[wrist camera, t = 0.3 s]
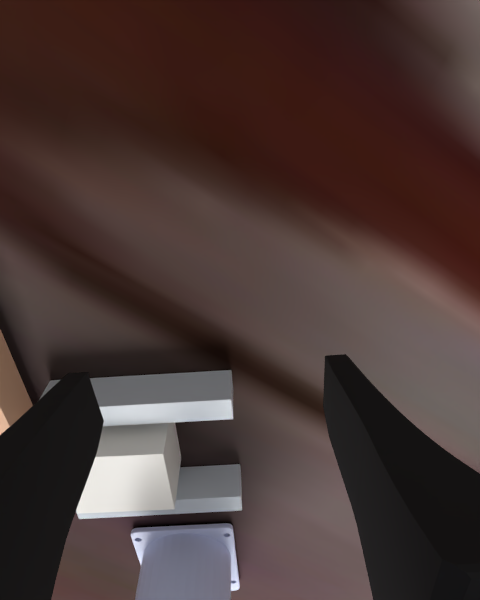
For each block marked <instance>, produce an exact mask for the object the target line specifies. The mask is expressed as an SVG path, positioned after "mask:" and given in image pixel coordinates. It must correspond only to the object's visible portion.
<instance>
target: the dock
mask: <svg viewBox="0 0 480 600" xmlns="http://www.w3.org/2000/svg"><path fill="white" fill-rule="evenodd" d="M59 381H60V380H50V382H49V383H48V385H47V387H46V389H45V390H44V392H43V394H42V396H41V397H40V399H41V398H42V397H43V396H44V395H45V394H46V393H47V392H48V391H49V390H50V389H51V388H52V387H53V386H55V385H56V384H57V383H58V382H59ZM90 381H91V384H92V387H93V390H94V393H95V396H96V399H97V402H98V405H99V408H100V411H101V414H102V417H103V420H104V423H103V426H119V425H137V424H155V423H173V422H191V421H209V420H227V419H233V382H232V371H231V370H222V371H205V372H188V373H170V374H153V375H136V376H119V377H101V378H90ZM40 399H39V400H40ZM223 511H242V483H241V468H240V464H232V465H214V466H195V467H180V471H179V479H178V487H177V495H176V502H175V509H170V510H148V511H125V512H103V513H80V514H77V515H78V517H79V519H88V518H108V517H127V516H146V515H165V514H185V513H204V512H223ZM76 513H77V511H76Z"/></svg>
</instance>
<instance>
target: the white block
mask: <svg viewBox="0 0 480 600" xmlns="http://www.w3.org/2000/svg"><path fill="white" fill-rule="evenodd" d="M180 464H181V453H180V447H179V441H178V436H177V430H176V424H175V422H173V423H155V424H137V425H119V426H103V428H102V433H101V437H100V442H99V446H98V450H97V454H96V457H95V460H94V462H93V465H92V468H91V471H90V474H89V476H88V479H87V482H86V485H85V487H84V490H83V493H82V495H81V498H80V501H79V504H78V506H77V509H76V511H77V514H80V513H103V512H125V511H148V510H170V509H175V502H176V495H177V487H178V479H179V471H180Z"/></svg>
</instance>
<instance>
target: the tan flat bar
mask: <svg viewBox="0 0 480 600" xmlns="http://www.w3.org/2000/svg"><path fill="white" fill-rule="evenodd" d="M32 406H33V405H32V402H31V400H30V398H29V395H28V393H27V391H26V388H25V386H24V384H23V381H22V379H21V376H20V374H19V372H18V369H17V367H16V365H15V362H14V360H13V358H12V355H11V353H10V351H9V348H8V346H7V344H6V341H5V339H4V336H3V334H2V332H1V329H0V435H1V434H2V433H3V432H4V431H5V430H7V429H8V428H9V427H10V426H11V425H12V424H14V423H15V422H16V421H17V420H18V419H19V418H20V417H21V416H22V415H23V414H24V413H26V412H27V411H28V410H29V409H30V408H31V407H32Z"/></svg>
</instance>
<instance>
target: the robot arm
mask: <svg viewBox="0 0 480 600" xmlns="http://www.w3.org/2000/svg"><path fill="white" fill-rule="evenodd" d="M323 407H324V413H325V418H326V423H327V428H328V433H329V437H330V441H331V444H332V447H333V450H334V453H335V456H336V459H337V463H338V466H339V469H340V472H341V475H342V478H343V481H344V484H345V487H346V490H347V493H348V496H349V499H350V502H351V505H352V509H353V512H354V516H355V519H356V523H357V527H358V532H359V536H360V540H361V545H362V549H363V554H364V558H365V563H366V567H367V572H368V577H369V582H370V586H371V591H372V596H373V600H480V474H479V473H478V472H476V471H475V470H473V469H472V468H470V467H469V466H467V465H466V464H464V463H463V462H461V461H460V460H458V459H457V458H455V457H454V456H453V455H451V454H450V453H448V452H447V451H446V450H444V449H443V448H442V447H440V446H439V445H438V444H437V443H435V442H434V441H433V440H431V439H430V438H429V437H428V436H427V435H425V434H424V433H423V432H422V431H421V430H419V429H418V428H417V427H416V426H415V425H414V424H412V423H411V422H410V421H409V420H408V419H407V418H406V417H405V416H404V415H403V414H401V413H400V412H399V411H398V410H397V409H396V408H395V407H394V406H393V405H392V404H391V403H390V402H389V401H388V400H387V399H386V398H385V397H384V396H383V395H382V394H381V393H380V392H379V391H378V390H377V389H376V388H375V386H374V385H373V384H372V383H371V382H370V381H369V380H368V379H367V378H366V377H365V376H364V374H363V373H362V372H361V371H360V370H359V369H358V368H357V366H356V365H355V364H354V363H353V362H352V360H351V359H350V358H349V357H348V356H347V355H346V354H345V355H330V356H325V373H324V401H323ZM103 423H104V420H103V417H102V414H101V411H100V408H99V405H98V402H97V399H96V396H95V393H94V390H93V387H92V384H91V381H90V378H89V375H88V372H84V373H69V374H67V375H66V376H65V377H63V378H62V379H61V380H60V381H59V382H58V383H57V384H56V385H55V386H53V387H52V388H51V389H50V390H49V391H48V392H47V393H46V394H45V395H44V396H43V397H42V398H41V399H40V400H39V401H38V402H36V403H35V404H34V405H33V406H32V407H31V408H30V409H29V410H28V411H27V412H26V413H24V414H23V415H22V416H21V417H20V418H19V419H18V420H17V421H16V422H15V423H14V424H12V425H11V426H10V427H9V428H8V429H7V430H5V431H4V432H3V433H2V434H1V435H0V600H51V597H52V593H53V589H54V584H55V580H56V576H57V572H58V568H59V564H60V561H61V557H62V553H63V549H64V545H65V541H66V538H67V535H68V532H69V529H70V526H71V523H72V520H73V517H74V515H75V512H76V509H77V506H78V504H79V501H80V498H81V495H82V493H83V490H84V487H85V485H86V482H87V479H88V476H89V474H90V471H91V468H92V465H93V462H94V460H95V457H96V454H97V450H98V446H99V442H100V437H101V433H102V428H103ZM131 538H132V541H133V544H134V547H135V550H136V553H137V556H138V559H139V562H140V565H141V570H140V575H139V580H138V586H137V591H136V597H135V600H231V591H235V590H238V589H239V588H240V582H239V574H238V565H237V557H236V548H235V540H234V532H233V526H232V525H231V524H229V523H219V524H200V525H180V526H161V527H141V528H134V529H132V531H131Z"/></svg>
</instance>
